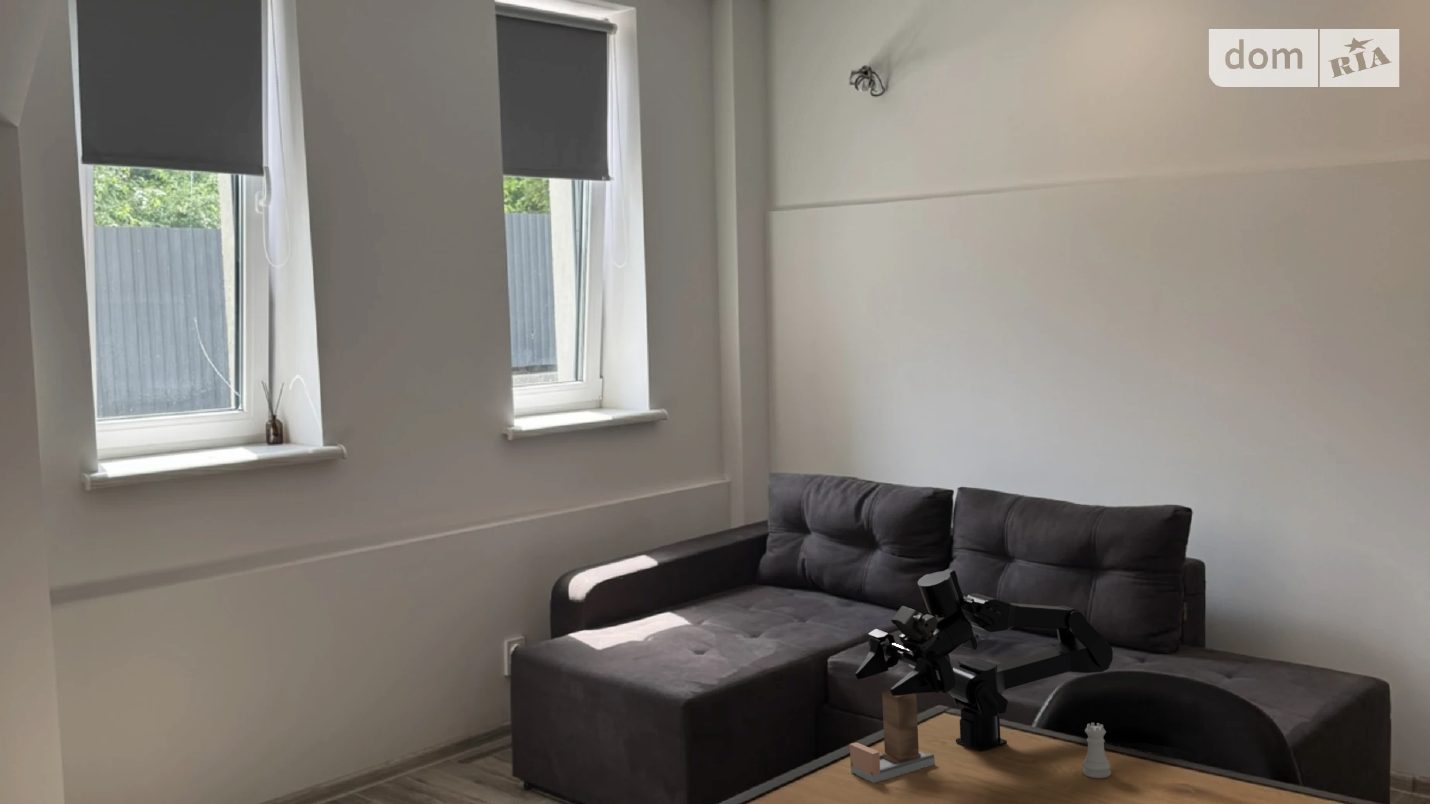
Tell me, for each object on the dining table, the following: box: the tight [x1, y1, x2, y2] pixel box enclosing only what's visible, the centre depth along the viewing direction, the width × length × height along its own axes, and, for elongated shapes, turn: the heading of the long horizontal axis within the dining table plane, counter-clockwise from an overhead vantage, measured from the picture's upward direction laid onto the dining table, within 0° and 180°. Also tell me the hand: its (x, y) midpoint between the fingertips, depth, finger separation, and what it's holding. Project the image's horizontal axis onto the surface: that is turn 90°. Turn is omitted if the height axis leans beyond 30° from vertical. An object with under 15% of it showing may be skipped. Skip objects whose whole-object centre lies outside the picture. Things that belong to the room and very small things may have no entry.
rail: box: [849, 742, 936, 784], centre depth 198 cm, size 13×6×5 cm, turn 121°
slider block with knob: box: [881, 689, 921, 764], centre depth 199 cm, size 5×4×12 cm
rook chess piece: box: [1082, 722, 1112, 780], centre depth 191 cm, size 4×4×8 cm
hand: (873, 684), depth 196 cm, fingers open, 9 cm apart
